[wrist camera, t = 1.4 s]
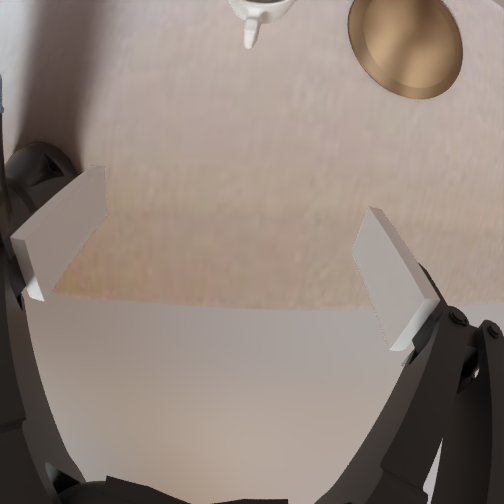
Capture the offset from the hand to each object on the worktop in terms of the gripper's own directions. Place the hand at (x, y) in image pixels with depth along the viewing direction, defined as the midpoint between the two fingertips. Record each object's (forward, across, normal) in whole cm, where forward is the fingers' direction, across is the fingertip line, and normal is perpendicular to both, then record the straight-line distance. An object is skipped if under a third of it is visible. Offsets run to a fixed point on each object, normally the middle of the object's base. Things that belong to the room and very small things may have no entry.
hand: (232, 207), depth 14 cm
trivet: (+22, +17, +16) cm, 32 cm away
